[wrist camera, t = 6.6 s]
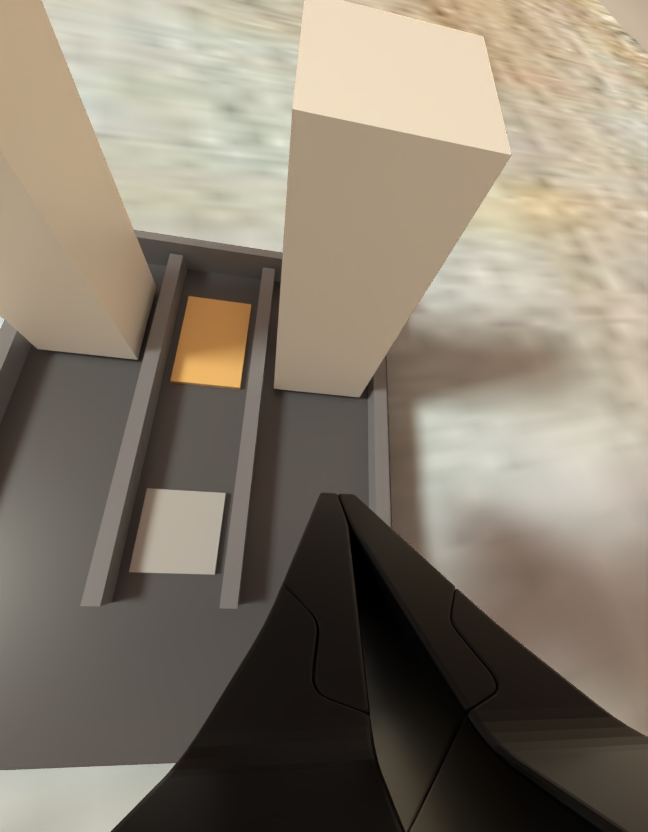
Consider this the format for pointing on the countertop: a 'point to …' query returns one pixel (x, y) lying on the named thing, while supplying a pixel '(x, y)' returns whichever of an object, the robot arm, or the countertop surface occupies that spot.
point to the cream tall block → (376, 183)
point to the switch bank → (159, 510)
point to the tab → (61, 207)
